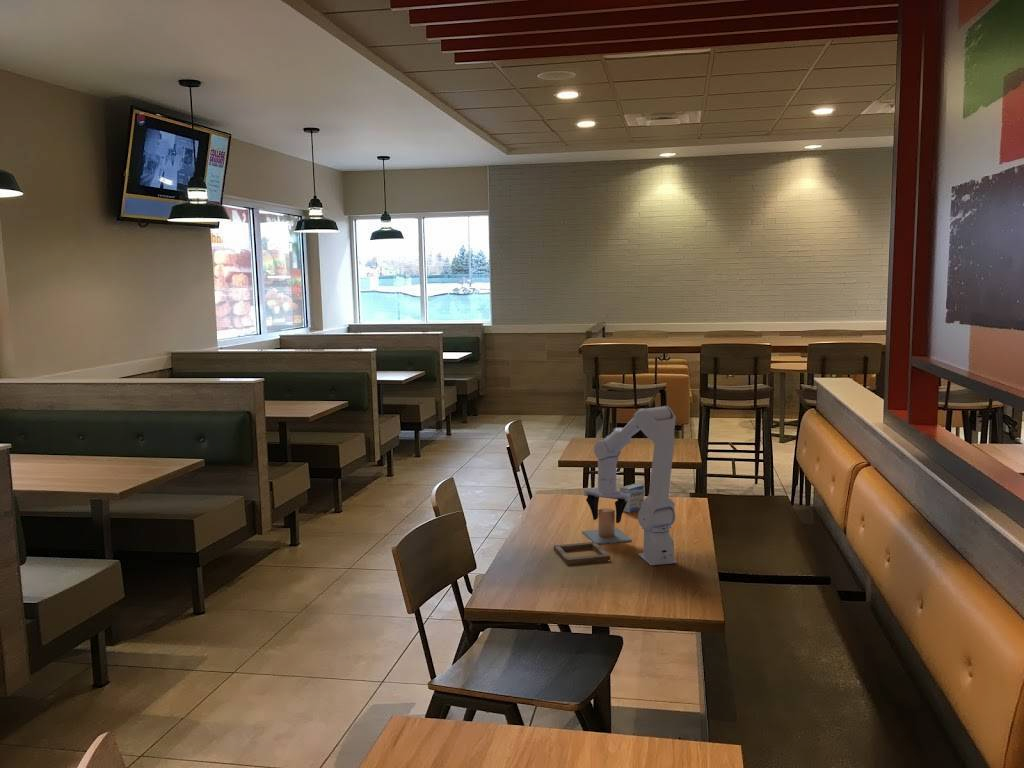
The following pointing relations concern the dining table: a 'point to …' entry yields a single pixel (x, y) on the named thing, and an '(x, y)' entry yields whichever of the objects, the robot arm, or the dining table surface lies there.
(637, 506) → the medicine box
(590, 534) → the rubber mat
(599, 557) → the frame
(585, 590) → the dining table surface
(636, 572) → the dining table surface
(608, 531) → the terracotta cylinder
